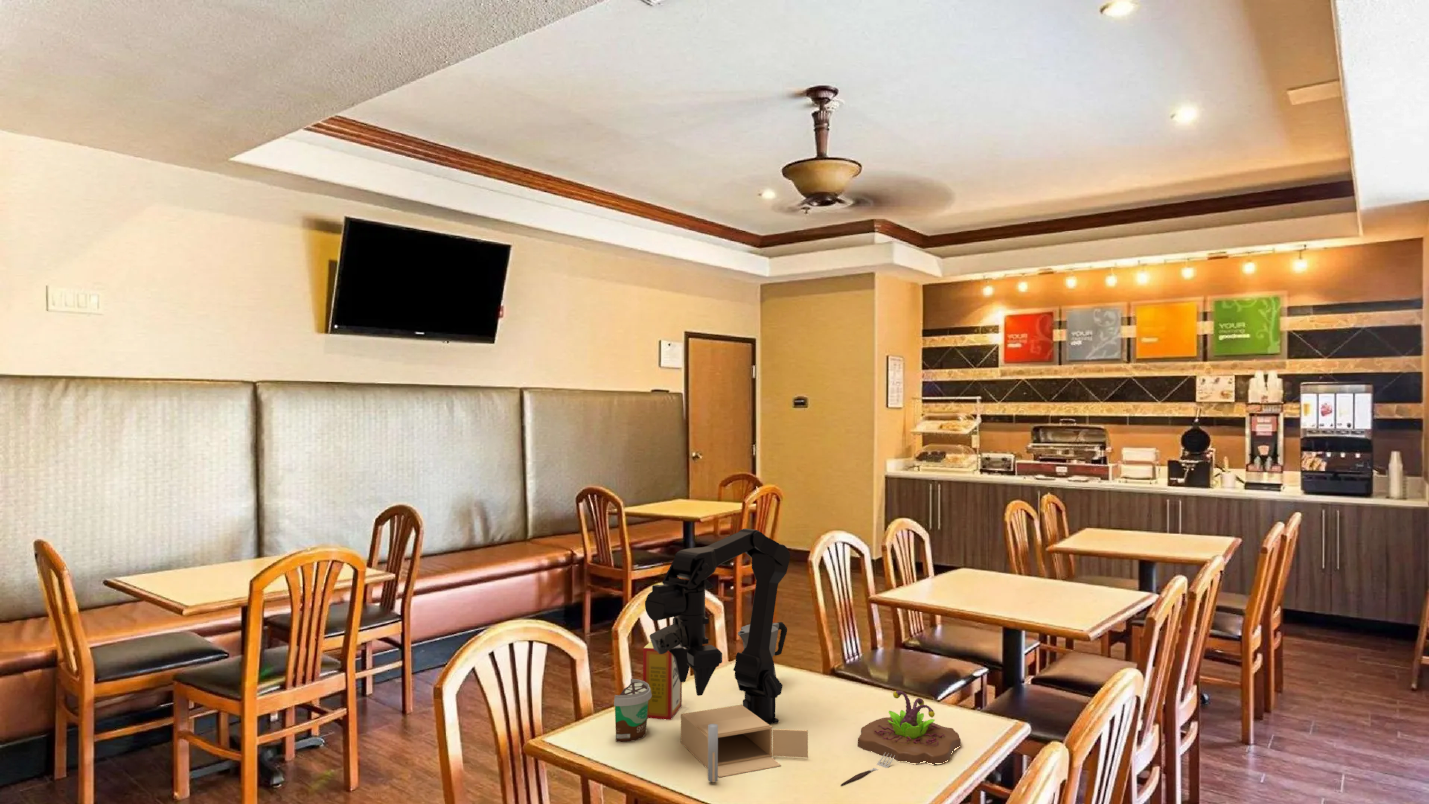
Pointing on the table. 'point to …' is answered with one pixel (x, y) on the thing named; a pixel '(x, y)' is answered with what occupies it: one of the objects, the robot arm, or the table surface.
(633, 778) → the table surface
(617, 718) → the food container
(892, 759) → the fork
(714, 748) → the flap
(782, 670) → the table surface
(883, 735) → the plant
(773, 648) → the coffeepot
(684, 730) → the carton
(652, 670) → the baking soda box
